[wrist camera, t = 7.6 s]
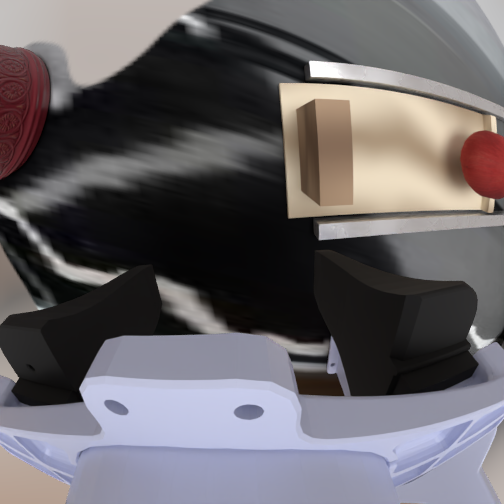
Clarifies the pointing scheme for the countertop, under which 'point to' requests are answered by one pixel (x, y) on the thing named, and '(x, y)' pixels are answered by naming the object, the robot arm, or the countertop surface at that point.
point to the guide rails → (400, 221)
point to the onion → (484, 163)
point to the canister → (21, 105)
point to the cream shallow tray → (374, 151)
